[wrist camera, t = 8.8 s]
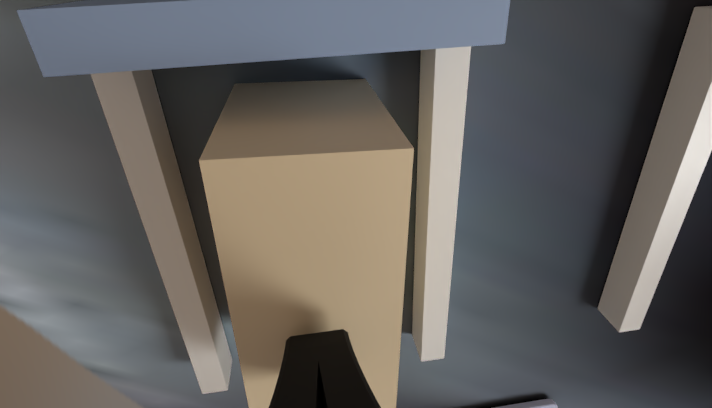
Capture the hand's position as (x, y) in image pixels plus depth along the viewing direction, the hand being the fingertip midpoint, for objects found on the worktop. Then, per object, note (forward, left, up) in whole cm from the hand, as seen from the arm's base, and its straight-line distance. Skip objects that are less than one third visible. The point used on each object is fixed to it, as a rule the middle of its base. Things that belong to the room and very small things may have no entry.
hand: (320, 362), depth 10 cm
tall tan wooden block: (0, 0, -6) cm, 7 cm away
